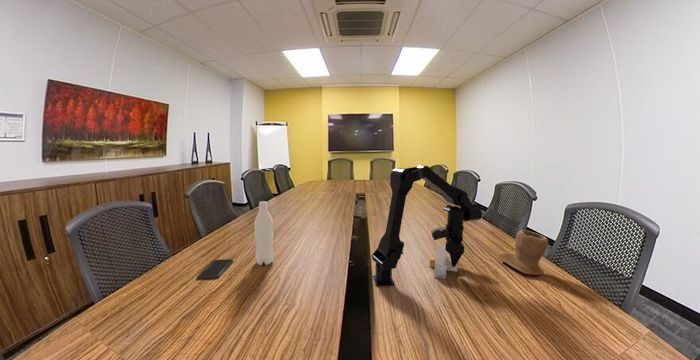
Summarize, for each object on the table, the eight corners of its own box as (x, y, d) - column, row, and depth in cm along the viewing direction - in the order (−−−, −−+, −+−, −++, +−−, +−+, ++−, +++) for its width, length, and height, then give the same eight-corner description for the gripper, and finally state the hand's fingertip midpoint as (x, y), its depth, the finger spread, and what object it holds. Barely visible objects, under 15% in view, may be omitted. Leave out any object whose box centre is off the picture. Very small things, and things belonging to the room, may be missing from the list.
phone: (233, 259, 106) (218, 276, 91) (233, 261, 106) (218, 279, 92) (213, 259, 106) (195, 277, 91) (214, 262, 106) (195, 280, 91)
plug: (429, 267, 102) (429, 258, 101) (430, 263, 105) (430, 255, 105) (457, 271, 98) (457, 262, 98) (456, 267, 102) (457, 258, 102)
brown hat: (553, 277, 95) (557, 237, 93) (523, 278, 94) (526, 237, 92) (523, 260, 110) (525, 225, 108) (496, 260, 109) (498, 225, 107)
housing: (434, 277, 94) (434, 263, 93) (436, 256, 112) (437, 245, 112) (446, 279, 92) (446, 265, 92) (446, 258, 111) (446, 246, 110)
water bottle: (268, 267, 101) (266, 204, 98) (251, 265, 102) (249, 203, 99) (277, 260, 108) (275, 200, 105) (261, 258, 109) (259, 200, 106)
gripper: (434, 215, 110) (432, 250, 112) (431, 226, 93) (429, 268, 94) (462, 217, 106) (460, 254, 108) (465, 230, 89) (463, 273, 91)
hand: (453, 261), depth 100 cm, fingers open, 9 cm apart
